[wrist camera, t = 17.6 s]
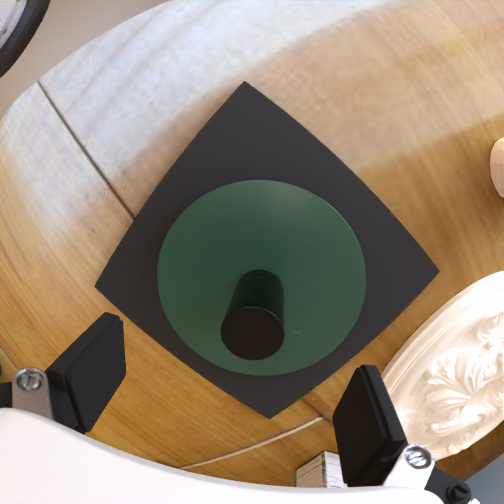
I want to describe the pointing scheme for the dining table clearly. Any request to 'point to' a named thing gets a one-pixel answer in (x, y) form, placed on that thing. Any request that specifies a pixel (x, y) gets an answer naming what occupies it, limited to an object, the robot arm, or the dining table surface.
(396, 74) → the dining table surface
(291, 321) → the lid
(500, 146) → the white lidded cup
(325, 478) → the syrup box
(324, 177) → the mat
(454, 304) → the ceiling medallion
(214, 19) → the dining table surface
